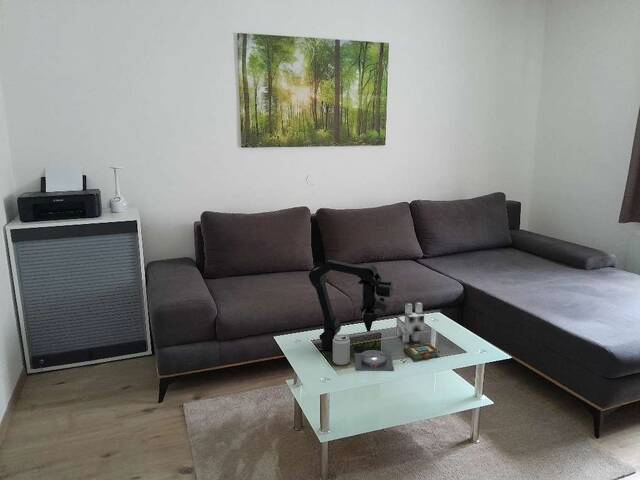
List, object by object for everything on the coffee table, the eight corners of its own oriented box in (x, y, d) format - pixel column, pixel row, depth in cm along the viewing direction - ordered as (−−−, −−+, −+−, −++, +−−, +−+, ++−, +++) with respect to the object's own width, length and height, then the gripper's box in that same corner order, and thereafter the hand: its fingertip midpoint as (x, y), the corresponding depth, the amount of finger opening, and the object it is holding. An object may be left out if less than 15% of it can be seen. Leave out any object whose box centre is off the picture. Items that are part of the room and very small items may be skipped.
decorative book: (392, 354, 220) (393, 344, 219) (427, 349, 226) (427, 339, 225) (407, 367, 208) (407, 356, 207) (443, 361, 213) (443, 350, 212)
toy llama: (408, 332, 245) (409, 294, 241) (423, 346, 229) (424, 305, 225) (394, 333, 244) (395, 295, 240) (408, 347, 227) (409, 306, 223)
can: (348, 366, 208) (348, 340, 206) (331, 365, 209) (331, 339, 207) (351, 359, 215) (351, 333, 213) (334, 358, 217) (334, 332, 214)
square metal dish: (355, 370, 205) (355, 362, 204) (354, 355, 219) (354, 347, 219) (393, 370, 204) (394, 363, 203) (390, 355, 219) (390, 348, 218)
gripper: (389, 301, 205) (388, 336, 208) (384, 288, 223) (383, 320, 226) (363, 300, 205) (362, 335, 208) (360, 287, 223) (359, 319, 226)
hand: (367, 327), depth 217 cm, fingers open, 9 cm apart
